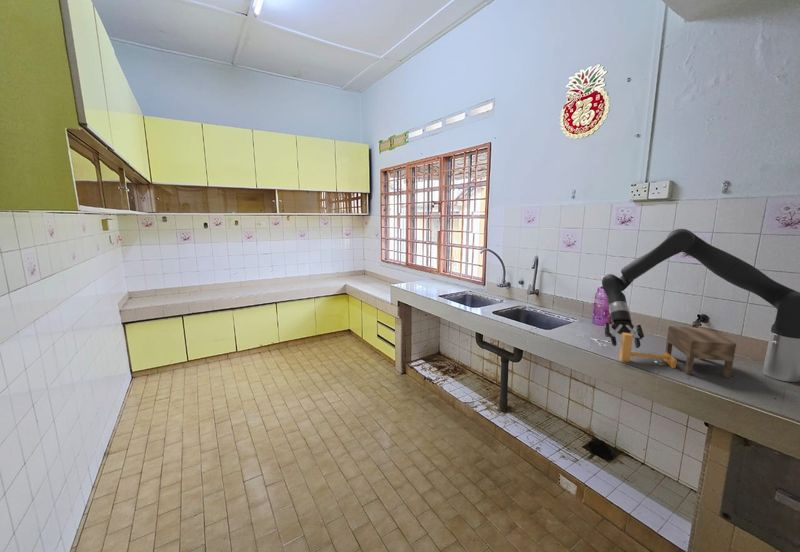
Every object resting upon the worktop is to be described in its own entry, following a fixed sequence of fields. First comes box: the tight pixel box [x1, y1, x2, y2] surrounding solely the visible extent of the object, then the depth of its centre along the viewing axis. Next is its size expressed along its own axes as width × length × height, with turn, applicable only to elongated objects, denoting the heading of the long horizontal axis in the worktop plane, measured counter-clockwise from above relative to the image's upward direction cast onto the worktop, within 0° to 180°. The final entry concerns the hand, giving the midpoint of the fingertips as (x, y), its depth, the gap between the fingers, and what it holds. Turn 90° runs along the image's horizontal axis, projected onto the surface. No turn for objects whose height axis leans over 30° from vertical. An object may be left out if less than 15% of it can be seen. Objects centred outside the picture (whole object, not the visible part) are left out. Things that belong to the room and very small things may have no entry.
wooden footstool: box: [664, 325, 737, 379], centre depth 136 cm, size 14×18×14 cm
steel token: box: [652, 358, 669, 366], centre depth 141 cm, size 5×5×1 cm
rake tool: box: [618, 333, 678, 369], centre depth 141 cm, size 19×8×12 cm, turn 74°
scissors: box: [576, 334, 621, 348], centre depth 168 cm, size 11×1×20 cm
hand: (626, 346), depth 142 cm, fingers open, 8 cm apart
